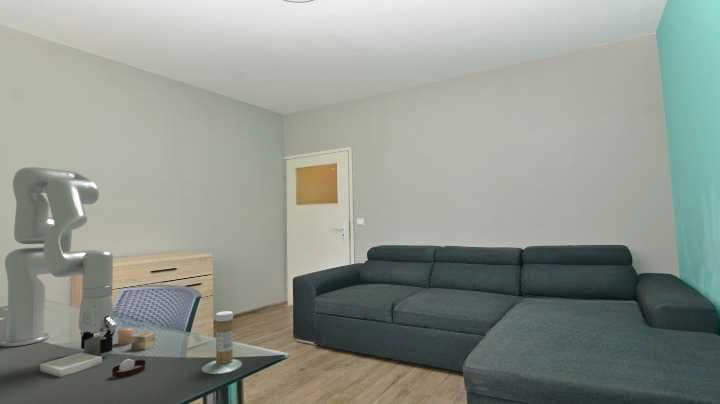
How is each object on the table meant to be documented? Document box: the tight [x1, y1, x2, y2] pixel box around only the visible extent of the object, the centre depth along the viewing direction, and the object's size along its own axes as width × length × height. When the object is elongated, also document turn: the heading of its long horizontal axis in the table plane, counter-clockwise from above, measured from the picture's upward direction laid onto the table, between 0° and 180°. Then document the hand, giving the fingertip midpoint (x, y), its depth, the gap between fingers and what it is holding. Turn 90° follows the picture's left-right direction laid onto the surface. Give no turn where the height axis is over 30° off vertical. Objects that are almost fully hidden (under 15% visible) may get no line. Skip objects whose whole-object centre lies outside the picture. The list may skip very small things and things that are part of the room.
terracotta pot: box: [117, 326, 134, 346], centre depth 124 cm, size 4×4×4 cm
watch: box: [111, 358, 147, 379], centre depth 98 cm, size 8×5×4 cm, turn 141°
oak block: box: [130, 332, 156, 350], centre depth 119 cm, size 5×4×4 cm
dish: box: [39, 352, 103, 378], centre depth 102 cm, size 10×10×2 cm
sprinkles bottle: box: [215, 310, 234, 365], centre depth 105 cm, size 5×5×14 cm
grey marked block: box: [83, 334, 114, 358], centre depth 113 cm, size 5×5×5 cm
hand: (96, 349), depth 113 cm, fingers open, 9 cm apart
